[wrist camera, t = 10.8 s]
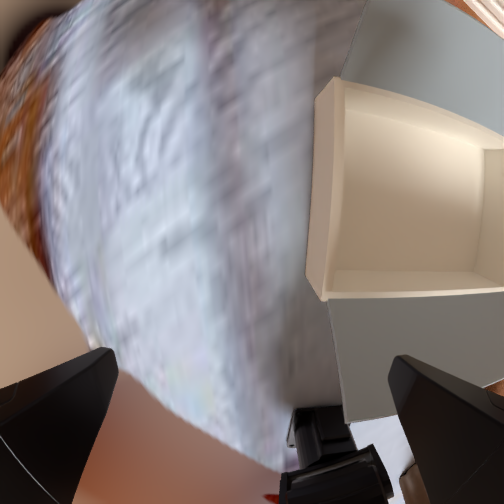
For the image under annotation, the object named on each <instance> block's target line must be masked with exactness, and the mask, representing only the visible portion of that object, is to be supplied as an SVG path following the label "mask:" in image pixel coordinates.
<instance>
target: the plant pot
mask: <svg viewBox="0 0 504 504" xmlns="http://www.w3.org/2000/svg"><path fill="white" fill-rule="evenodd" d="M399 484H400V487H401V490H402V494H403V497H404V500H405V504H430V502H429V499H428V496H427V493H426V490H425V487H424V484H423V481H422V478H421V475H420V472H419V469H418V467H417V464H415V465H413V466H412V467H411V468H410V469H409V470H408V471H407V474H406V475H403V476H402V477H401V478H400V480H399Z"/></svg>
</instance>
